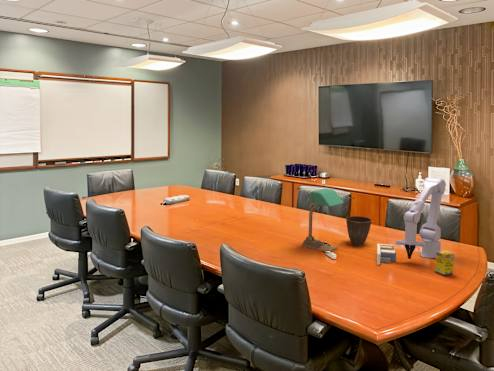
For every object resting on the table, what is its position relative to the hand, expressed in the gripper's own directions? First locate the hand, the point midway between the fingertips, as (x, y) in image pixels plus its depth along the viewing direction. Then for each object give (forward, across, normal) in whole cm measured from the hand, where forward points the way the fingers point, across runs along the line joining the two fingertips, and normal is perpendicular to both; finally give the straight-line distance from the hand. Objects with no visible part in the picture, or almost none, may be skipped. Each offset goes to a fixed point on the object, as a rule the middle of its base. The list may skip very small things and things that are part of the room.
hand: (409, 258), depth 229 cm
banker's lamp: (+2, -49, +12) cm, 50 cm away
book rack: (+2, -12, +1) cm, 12 cm away
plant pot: (+3, -28, +26) cm, 38 cm away
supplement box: (+3, +16, -12) cm, 20 cm away
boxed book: (+2, -11, 0) cm, 11 cm away
